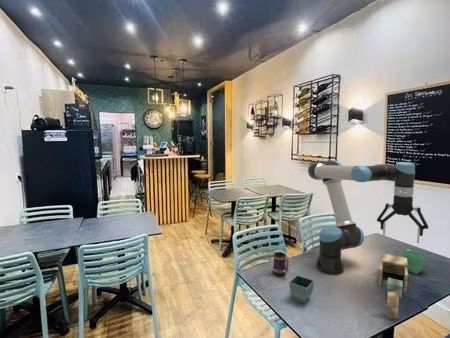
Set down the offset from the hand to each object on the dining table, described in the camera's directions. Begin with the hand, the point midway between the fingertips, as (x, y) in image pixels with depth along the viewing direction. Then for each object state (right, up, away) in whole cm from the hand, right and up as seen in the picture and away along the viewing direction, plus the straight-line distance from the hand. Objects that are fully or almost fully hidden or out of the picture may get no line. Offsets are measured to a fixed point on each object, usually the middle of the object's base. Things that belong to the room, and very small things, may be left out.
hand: (400, 239), depth 126 cm
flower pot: (-48, -28, -2) cm, 55 cm away
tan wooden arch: (+5, -26, +13) cm, 29 cm away
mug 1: (-53, -26, +20) cm, 62 cm away
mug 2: (+23, -24, +25) cm, 42 cm away
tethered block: (-7, -28, -6) cm, 29 cm away
